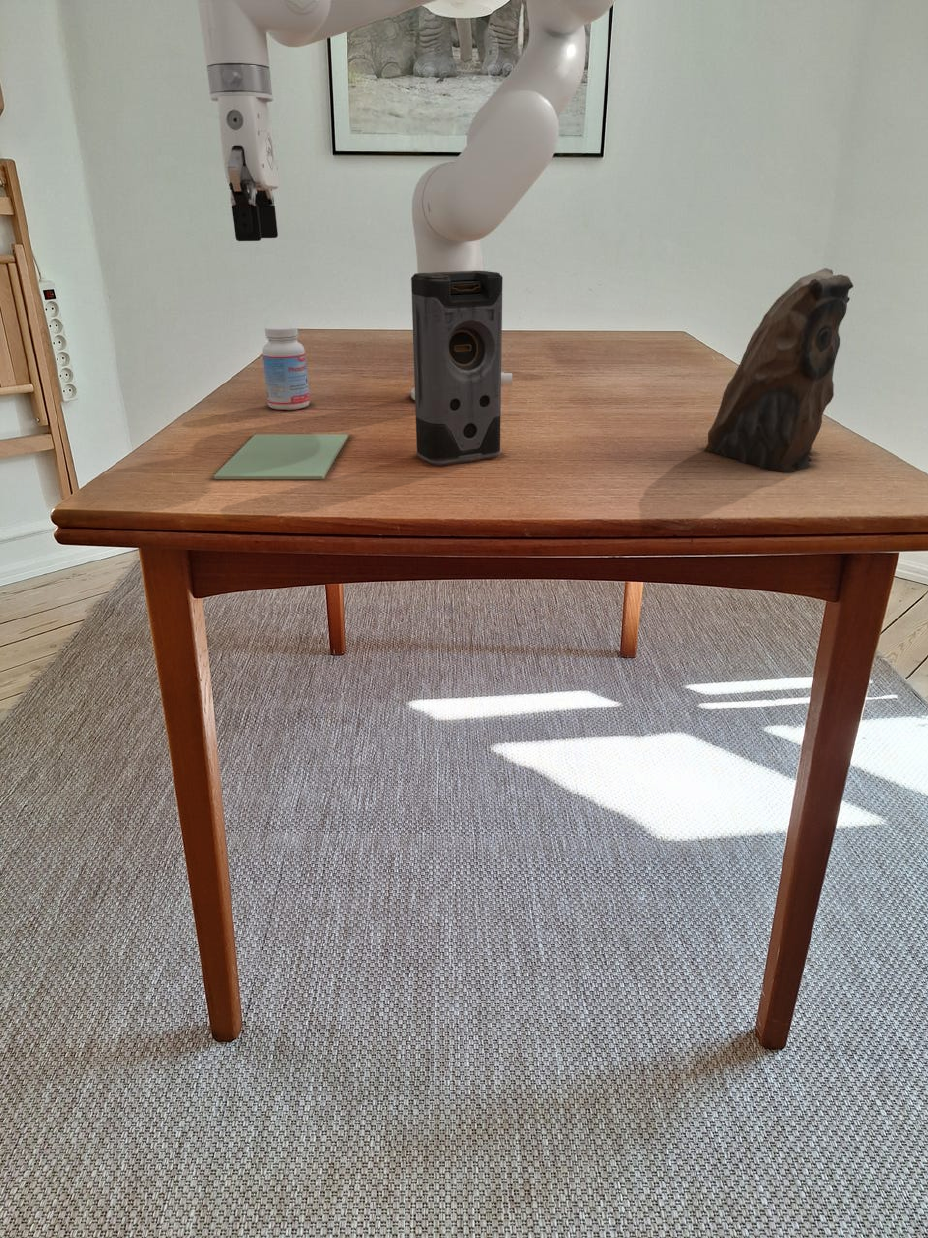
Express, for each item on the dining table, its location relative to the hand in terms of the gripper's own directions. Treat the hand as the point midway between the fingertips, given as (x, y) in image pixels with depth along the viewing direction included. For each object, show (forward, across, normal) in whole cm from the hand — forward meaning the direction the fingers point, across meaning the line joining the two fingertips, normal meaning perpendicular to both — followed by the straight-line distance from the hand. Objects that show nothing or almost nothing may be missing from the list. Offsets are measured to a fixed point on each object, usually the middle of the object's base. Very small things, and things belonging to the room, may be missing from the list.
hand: (257, 239), depth 108 cm
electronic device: (+23, -25, -27) cm, 43 cm away
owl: (+23, -24, -63) cm, 71 cm away
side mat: (+23, -24, -6) cm, 34 cm away
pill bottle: (+23, +3, -1) cm, 23 cm away
